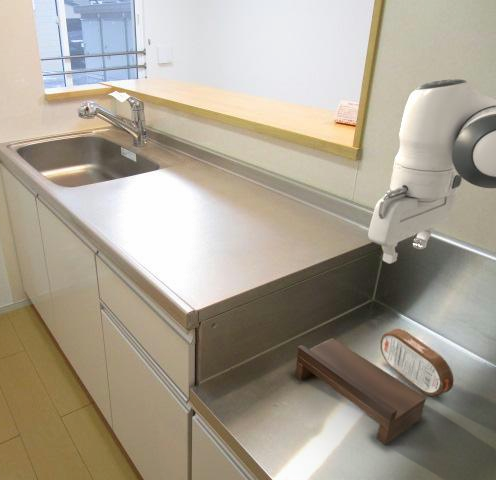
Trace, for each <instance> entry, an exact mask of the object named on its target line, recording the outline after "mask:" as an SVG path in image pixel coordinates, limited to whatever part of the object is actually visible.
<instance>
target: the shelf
mask: <svg viewBox="0 0 496 480" xmlns="http://www.w3.org/2000/svg"><path fill="white" fill-rule="evenodd" d="M294 373H295V375H294V376H295V377H296V378H298V379H299V380H300V381H302V380H304V379H305V378H308V377H310V376H312V375H315V376H316V377H317V378H318V379H320V380H321V381H322V382H324V383H325V384H326V385H328V386H329V387H330V388H332V389H333V390H335V391H336V392H337V393H339V394H340V395H342V396H343V397H344V398H346V399H347V400H348V401H350V402H351V403H352V404H354V405H355V406H356V407H358V408H359V409H360V410H362V411H363V412H365V413H366V414H367V415H368V416H370V417H371V418H373V420H375V421H376V422H378V423H379V426H378V430H377V435H376V440H377V441H379V442H380V444H382V445H384V446H385V445H387V444H389V443H391V442H392V440H394V439H396V438H397V437H398V436H399V435H401V434H402V433H404V432H405V431H406V430H408V429H409V428H411V427H412V426H414V425H415V424H416V423H418V422H419V421H420V420H421V418H422V415H423V411H424V408H425V403H426V399H427V397H426V396H424V395H423V394H421V393H420V392H418V391H417V390H415V389H413V388H412V387H410V386H409V385H407V384H405V383H404V382H403V381H400V380H399V379H398V378H396V377H394V376H393V375H391V374H390V373H388V372H386V371H385V370H384V369H382V368H380V366H377V365H376V364H374V363H372V362H371V361H369V360H368V359H367V358H364V357H362V356H361V355H360V354H358V353H356V352H355V351H353V350H352V349H350V348H349V347H347V346H345V345H344V344H343V343H340V342H339V341H337V340H336V339H334V337H331V338H330V339H328V340H326V341H325V340H324V342H321V343H319V344H318V345H315V346H314V347H311V348H308V347H307V346H306V345H303V344H302V345H300V346H298V348H297V356H296V363H295V372H294Z"/></svg>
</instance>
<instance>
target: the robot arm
mask: <svg viewBox="0 0 496 480" xmlns="http://www.w3.org/2000/svg"><path fill="white" fill-rule="evenodd" d="M398 140H399V149H398V152H397V154H396V156H395V157H394V161H393V166H392V173H391V178H390V183H389V189H390V190H388V191H387V192H386V193H385V195H384V196H383V197H382V198H381V199H379V200H378V201H377V203H376V205H375V207H374V209H373V213H372V216H371V220H370V223H369V228H368V233H367V236H368V237H367V238H368V239H369V241H370V242H372V243H373V244H376V245H379V246H380V247H381V248H382V252H383V254H382V261H383V262H384V263H386V264H393V263H395V262H397V260H398V256H399V253H398V252H396V247H398V243H400V242H402V241H404V240H407V239H409V238H411V237H414V236H415V235H416V237H415V238H414V239H413V241H412V248H413V249H417V250H419V251H420V250H424V249H425V248H426V247H427V244H428V240H429V239H430V238H431V236H432V234H433V232H434V230H435V227H438V226H439V225H441V224H444V223H446V222H447V221H448V219H449V218H450V216H452V212H453V209H454V206H455V203H456V200H457V196H458V188H460V187H461V186H462V184H463V183H464V180H465V181H466V182H467V183H469V184H471V185H473V186H476V187H479V188H483V189H496V98H493V97H491V96H489V95H486V94H485V93H483V92H481V91H480V90H478V89H477V88H475V87H474V86H472V85H471V84H470V82H468V80H465V79H459V78H454V79H442V80H435V81H430V82H426V83H424V84H422V85H420V86H418V87H416V88H415V89H414V90H413V91H412V92H411V93H410V95H409V97H408V100H407V101H406V105H405V107H404V112H403V116H402V120H401V124H400V128H399V134H398ZM454 169H455V171H456V172H454Z"/></svg>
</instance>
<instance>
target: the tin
mask: <svg viewBox="0 0 496 480" xmlns="http://www.w3.org/2000/svg"><path fill="white" fill-rule="evenodd" d="M379 348H380V352H381V355H382V357H383V359H384V361H385V362H386V364H388V366H389V367H391V368H392V369H393V370H394V371H395V372H397V373H398V374H399V375H400V376H402V377H403V378H404V379H405V380H406V381H408V382H409V383H410V384H412V386H414V387H415V388H416V389H417V390H418V391H420V392H421V393H423V394H425V395H427V396H430V397H435V396H440V395H442V394H446V393H448V392H450V391H451V390H452V389H453V386H454V380H455V379H454V375H453V371H452V369H451V366H450V365H449V364H448V362H447V360H446V359H445V358H444V357H443V356H442V355H441V354H440V353H439V352H437V351H435V350H434V349H432V348H431V347H430V346H428V345H427V344H425V343H424V342H422V341H421V340H420V339H418V338H416V337H415V336H414V335H412V334H411V333H410V332H408V331H407V330H405V329H402V328H393V329H392V330H389V331H387V332H385V333H383V335H381V338H380V347H379Z"/></svg>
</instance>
